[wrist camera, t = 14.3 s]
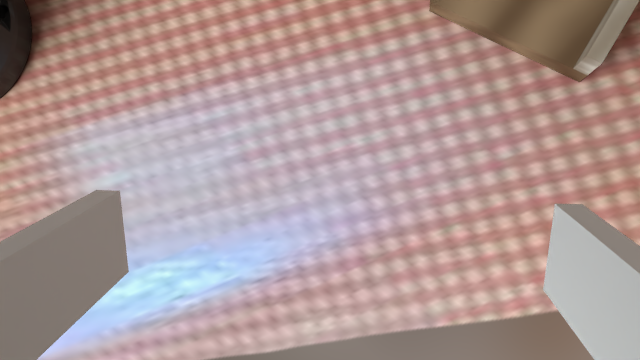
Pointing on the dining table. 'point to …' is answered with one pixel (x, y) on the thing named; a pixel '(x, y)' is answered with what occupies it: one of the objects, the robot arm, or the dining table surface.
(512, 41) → the shelf
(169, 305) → the dining table surface
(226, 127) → the dining table surface
